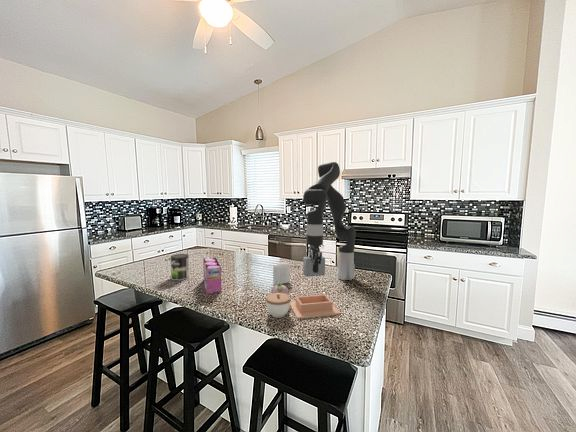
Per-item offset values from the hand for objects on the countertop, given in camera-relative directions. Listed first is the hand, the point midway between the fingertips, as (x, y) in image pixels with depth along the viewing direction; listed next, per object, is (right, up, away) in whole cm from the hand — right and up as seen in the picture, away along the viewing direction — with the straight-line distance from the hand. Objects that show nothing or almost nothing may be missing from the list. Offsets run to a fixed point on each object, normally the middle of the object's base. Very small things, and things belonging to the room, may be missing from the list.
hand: (314, 270), depth 117 cm
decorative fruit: (-16, -17, +7) cm, 25 cm away
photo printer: (-16, -15, +35) cm, 41 cm away
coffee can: (-79, -14, +43) cm, 91 cm away
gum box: (-56, -15, +30) cm, 65 cm away
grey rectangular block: (0, -2, 0) cm, 2 cm away
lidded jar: (-16, -19, -4) cm, 25 cm away
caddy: (0, -18, +2) cm, 18 cm away
